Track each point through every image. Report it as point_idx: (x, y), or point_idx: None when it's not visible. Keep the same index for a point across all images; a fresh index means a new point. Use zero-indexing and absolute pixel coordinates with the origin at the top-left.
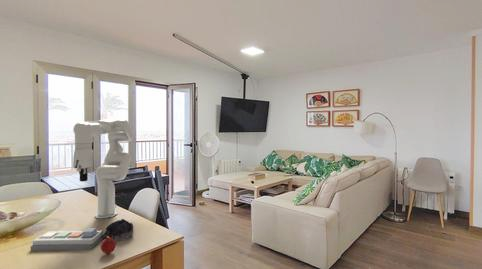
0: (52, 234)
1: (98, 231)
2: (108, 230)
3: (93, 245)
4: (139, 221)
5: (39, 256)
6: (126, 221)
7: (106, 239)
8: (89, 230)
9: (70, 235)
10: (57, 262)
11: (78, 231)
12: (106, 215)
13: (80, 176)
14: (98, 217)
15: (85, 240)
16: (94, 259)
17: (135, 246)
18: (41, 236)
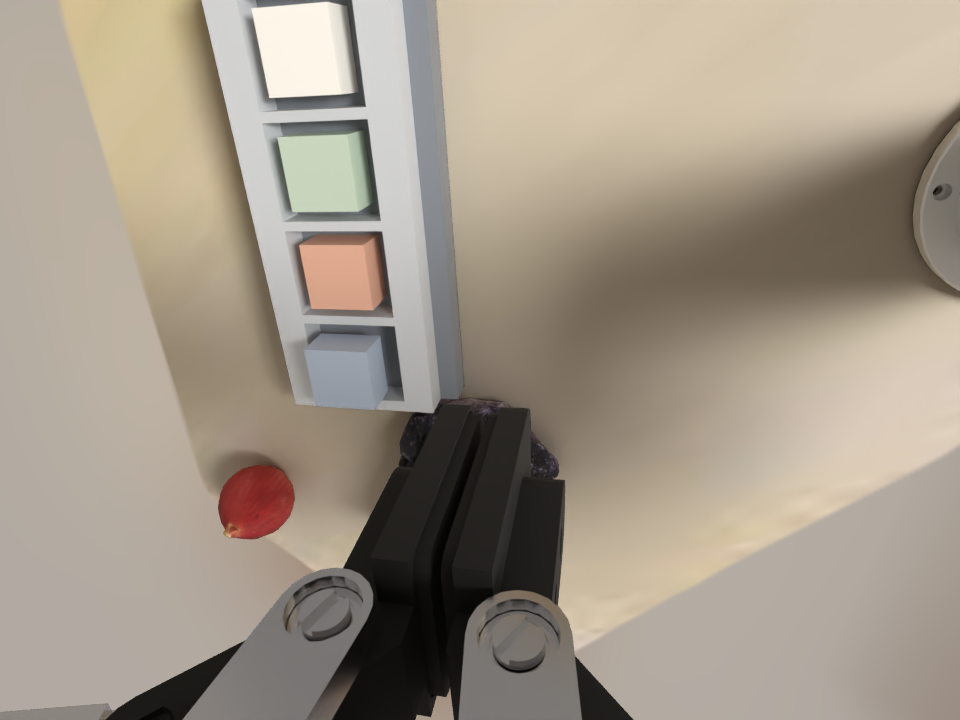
0: (301, 83)
1: (413, 392)
2: (409, 458)
3: None
4: (745, 516)
5: (178, 130)
6: None
7: (224, 523)
8: (329, 383)
9: (307, 250)
10: (159, 283)
11: (402, 253)
12: (957, 230)
13: (367, 525)
14: (939, 152)
15: (289, 367)
16: (226, 434)
17: None
18: (252, 8)
